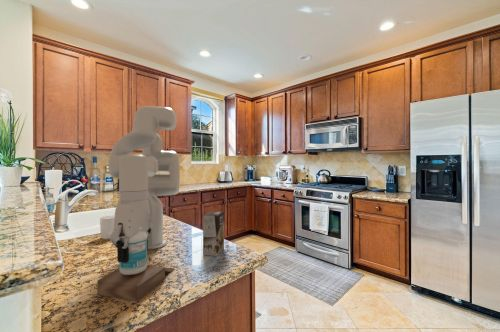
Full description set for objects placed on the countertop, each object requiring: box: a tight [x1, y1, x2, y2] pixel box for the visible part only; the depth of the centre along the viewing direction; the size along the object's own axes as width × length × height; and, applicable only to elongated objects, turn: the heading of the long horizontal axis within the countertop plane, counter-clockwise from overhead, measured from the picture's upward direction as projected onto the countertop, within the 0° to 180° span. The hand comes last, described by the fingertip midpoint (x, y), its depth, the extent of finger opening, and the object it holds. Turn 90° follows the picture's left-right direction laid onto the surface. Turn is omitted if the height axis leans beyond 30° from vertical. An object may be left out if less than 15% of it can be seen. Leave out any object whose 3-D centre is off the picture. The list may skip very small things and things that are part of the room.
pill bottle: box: [118, 226, 148, 275], centre depth 70 cm, size 8×7×14 cm
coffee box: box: [202, 210, 225, 257], centre depth 99 cm, size 9×6×16 cm
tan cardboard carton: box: [97, 264, 175, 302], centre depth 74 cm, size 13×20×5 cm, turn 166°
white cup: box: [99, 214, 115, 240], centre depth 118 cm, size 8×8×10 cm
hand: (133, 256), depth 70 cm, fingers closed on pill bottle, 7 cm apart
